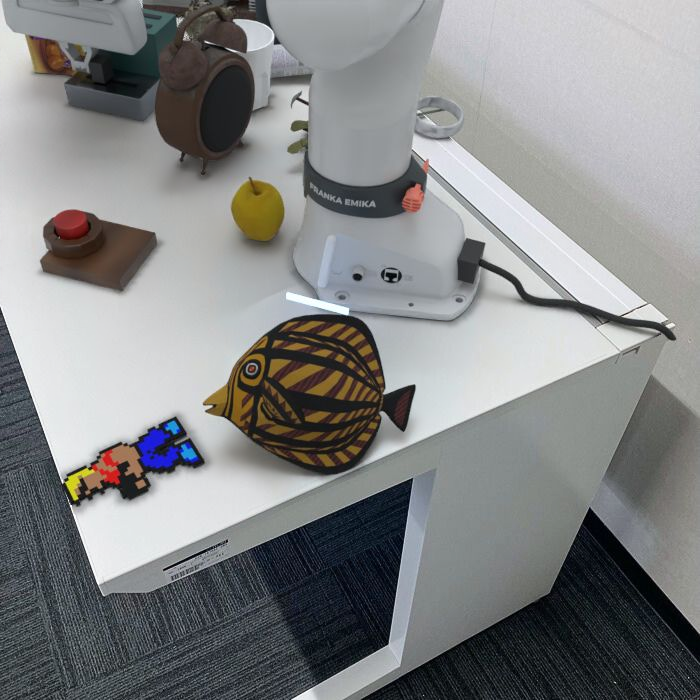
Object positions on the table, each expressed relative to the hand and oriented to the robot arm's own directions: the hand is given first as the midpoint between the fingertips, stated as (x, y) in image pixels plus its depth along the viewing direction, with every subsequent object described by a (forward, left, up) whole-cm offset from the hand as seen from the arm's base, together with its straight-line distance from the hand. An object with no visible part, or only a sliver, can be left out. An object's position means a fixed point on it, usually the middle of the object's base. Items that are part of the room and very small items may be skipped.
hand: (84, 70), depth 111 cm
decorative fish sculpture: (-51, +53, -4) cm, 74 cm away
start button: (-16, +31, -1) cm, 35 cm away
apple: (-35, +21, -5) cm, 41 cm away
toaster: (-4, -4, -4) cm, 7 cm away
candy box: (+8, -7, -5) cm, 11 cm away
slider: (-3, 0, -1) cm, 3 cm away
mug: (-22, -23, -4) cm, 32 cm away
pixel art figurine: (-40, +52, -4) cm, 66 cm away
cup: (-21, -8, -4) cm, 23 cm away
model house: (-4, -38, -5) cm, 39 cm away
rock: (-10, -31, -2) cm, 33 cm away
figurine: (-31, +5, 0) cm, 31 cm away
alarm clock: (-23, +7, -5) cm, 25 cm away
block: (-19, +31, -4) cm, 37 cm away
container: (-31, -19, -1) cm, 36 cm away
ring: (-50, -12, -2) cm, 52 cm away
